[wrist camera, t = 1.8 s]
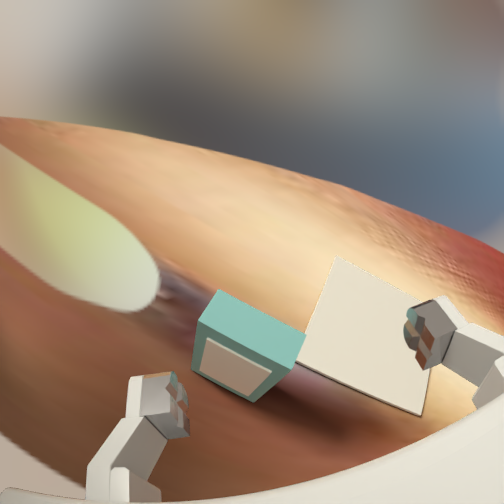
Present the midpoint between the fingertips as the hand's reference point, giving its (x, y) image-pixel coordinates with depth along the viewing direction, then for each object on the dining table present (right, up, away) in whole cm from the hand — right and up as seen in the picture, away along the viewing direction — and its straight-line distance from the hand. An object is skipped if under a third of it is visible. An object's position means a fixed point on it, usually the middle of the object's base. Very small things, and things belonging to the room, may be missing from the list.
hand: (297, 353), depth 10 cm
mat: (+12, -5, +21) cm, 25 cm away
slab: (-3, -7, +16) cm, 18 cm away
